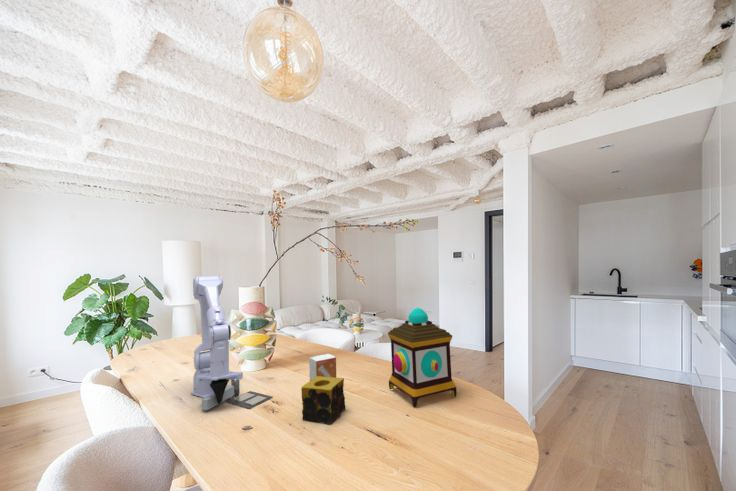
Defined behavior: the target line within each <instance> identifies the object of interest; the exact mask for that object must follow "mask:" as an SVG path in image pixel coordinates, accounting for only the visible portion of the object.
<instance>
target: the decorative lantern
mask: <svg viewBox="0 0 736 491" xmlns="http://www.w3.org/2000/svg"><path fill="white" fill-rule="evenodd" d="M401 324H402V325H399V326H397V327H393V328H392V329H391V330H389V331H388V332H387V335H388V337H389V339H390V348H391V351H390V352H391V371H392V372H391V376H390V377H389V380H388V388H389V390H390V389H393V390H394V388H396V389H398V390H400V391H401V392H403V393H404V394H405V395H407V397H410V398H411V403H412V404H411V405H412V407H413V408H417V406H418V401H419V399H421V398H422V399H423V398H425V397H430V396H433V395H434V396H435V395H438V394H441V393H447V392H450V394H451V396H452V398H456V397H457V394H458V392H457V391H458V390H457V387H456V384H455V383H454V380H453V378H452V363H451V341H452V339H453V335H452V334H451V333H450V332H448V331H447V330H446V329H444V328H440V327H438V326H437V325H436V324H434V323H433V321H431V320H429V316H428V314H427V313H426V311H425V310H423V309H422V308H420V307H416V308H413V309H412V310H411V311H410V313H409V314H408V320H405V322H404V323H401Z"/></svg>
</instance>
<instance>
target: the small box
mask: <svg viewBox="0 0 736 491" xmlns="http://www.w3.org/2000/svg"><path fill="white" fill-rule="evenodd" d="M308 361H309V362H308V363H309V364H308V367H309V381H311V380H312V379H313V378H315V377H316V376H322V377H335V378H337V357H336V356H335V355H333V354H330V353H326V354H320V355H314V356H312V357H311V356H310V357H309V358H308Z"/></svg>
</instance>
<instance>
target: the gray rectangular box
mask: <svg viewBox="0 0 736 491" xmlns="http://www.w3.org/2000/svg"><path fill="white" fill-rule="evenodd" d="M233 395H234V386H231V384H230V385H227V386H226V388H225V391H224V395H223V399H222V402H221V403H223V402H224V401H227V400H228V399H230V398H233V397H232V396H233ZM218 405H219V404H218V403H217V399H216V396H215V394H214V393H213V394H211V395H209V396H207V397H205V398H203V397H202V399H201V410H203V411H209V410H210V409H212V408H214V407H215V406H218Z"/></svg>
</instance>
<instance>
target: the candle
mask: <svg viewBox="0 0 736 491" xmlns="http://www.w3.org/2000/svg"><path fill="white" fill-rule="evenodd" d="M344 379H345V378H344V377H336V378H335V377H322V376H316V377H315V378H313V379H312V380H311V381H310V380H309V381H308V382H305V384H303V385H302V386H301V401H302V403H301V404H302V410H301V412H302V413H301V414H302V420H303V421H305V422H313V423H320V424H326V425H333V424H334V423H335V421H336V420H338V418H339V417H340V416H341V415H342V413H343V412H344V411H346V398H345V394H344V385H345V384H344V382H345V380H344Z"/></svg>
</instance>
